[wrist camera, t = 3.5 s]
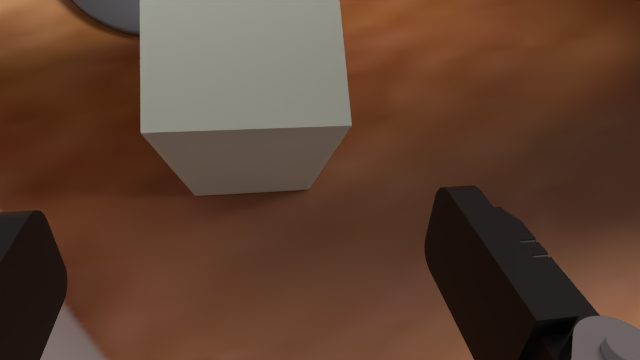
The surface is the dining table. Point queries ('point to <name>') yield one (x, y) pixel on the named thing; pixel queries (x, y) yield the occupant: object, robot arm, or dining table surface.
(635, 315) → the dining table surface
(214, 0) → the pale grey rectangular box
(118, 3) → the coaster
